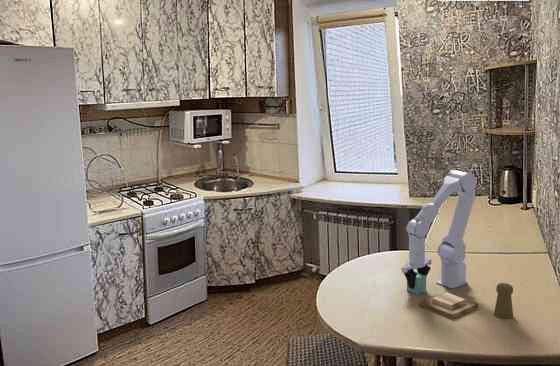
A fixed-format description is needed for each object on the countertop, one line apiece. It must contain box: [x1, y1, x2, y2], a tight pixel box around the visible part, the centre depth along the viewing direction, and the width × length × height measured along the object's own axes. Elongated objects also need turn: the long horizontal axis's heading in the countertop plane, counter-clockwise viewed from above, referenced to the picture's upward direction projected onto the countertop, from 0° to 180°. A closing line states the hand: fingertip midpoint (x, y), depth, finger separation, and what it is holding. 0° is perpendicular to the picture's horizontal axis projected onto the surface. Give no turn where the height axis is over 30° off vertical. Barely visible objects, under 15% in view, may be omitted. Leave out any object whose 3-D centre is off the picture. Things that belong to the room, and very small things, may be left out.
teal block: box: [406, 271, 427, 295], centre depth 204 cm, size 5×5×6 cm
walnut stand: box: [419, 291, 479, 320], centre depth 189 cm, size 14×14×3 cm
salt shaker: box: [493, 282, 514, 320], centre depth 180 cm, size 6×6×11 cm
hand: (416, 286), depth 204 cm, fingers closed on teal block, 5 cm apart
